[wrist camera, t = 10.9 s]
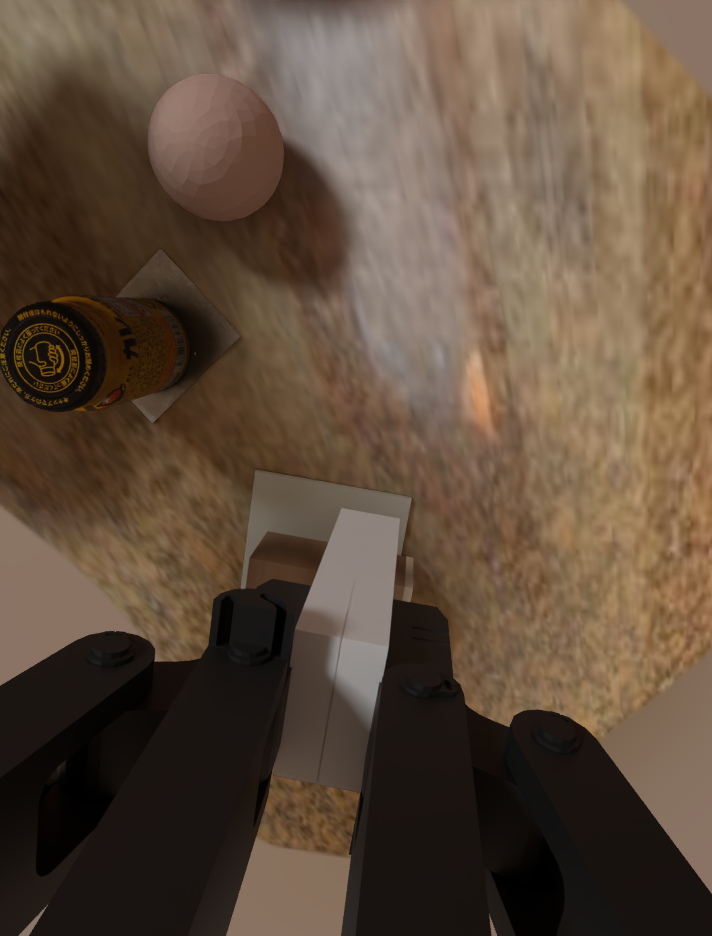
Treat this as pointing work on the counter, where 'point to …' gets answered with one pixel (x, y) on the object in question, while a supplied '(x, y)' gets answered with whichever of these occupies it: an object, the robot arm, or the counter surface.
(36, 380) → the condiment
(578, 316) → the counter surface
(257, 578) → the block
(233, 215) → the egg
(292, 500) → the mat
